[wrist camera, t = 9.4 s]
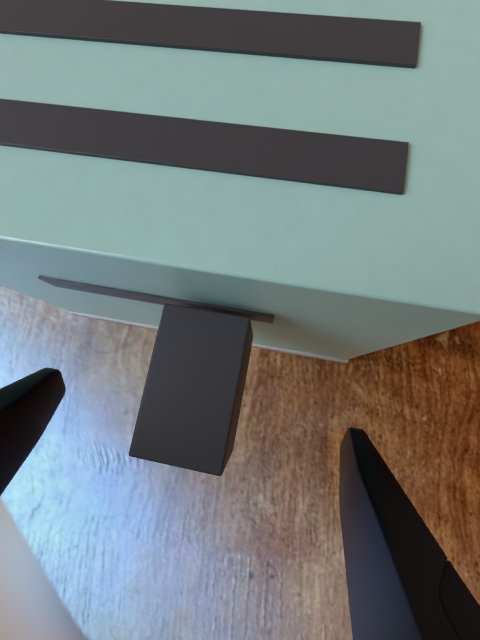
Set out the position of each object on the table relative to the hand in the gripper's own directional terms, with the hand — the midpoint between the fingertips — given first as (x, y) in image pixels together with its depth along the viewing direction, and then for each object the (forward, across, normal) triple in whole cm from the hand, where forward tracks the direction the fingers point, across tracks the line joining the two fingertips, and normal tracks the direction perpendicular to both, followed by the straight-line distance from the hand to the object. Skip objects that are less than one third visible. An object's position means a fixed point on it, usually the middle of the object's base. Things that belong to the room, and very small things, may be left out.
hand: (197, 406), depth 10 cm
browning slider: (+1, 0, 0) cm, 1 cm away
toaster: (+11, +2, 0) cm, 11 cm away
